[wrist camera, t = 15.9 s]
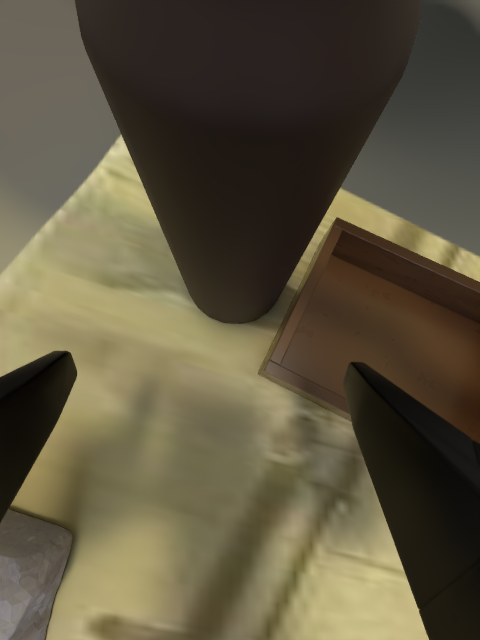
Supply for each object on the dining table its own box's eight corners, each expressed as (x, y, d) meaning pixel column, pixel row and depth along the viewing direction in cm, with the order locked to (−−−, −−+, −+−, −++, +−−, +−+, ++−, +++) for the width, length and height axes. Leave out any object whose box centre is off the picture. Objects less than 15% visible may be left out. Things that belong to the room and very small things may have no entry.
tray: (478, 486, 17) (533, 508, 14) (257, 373, 18) (263, 370, 15) (516, 332, 20) (569, 322, 17) (320, 242, 21) (336, 216, 18)
